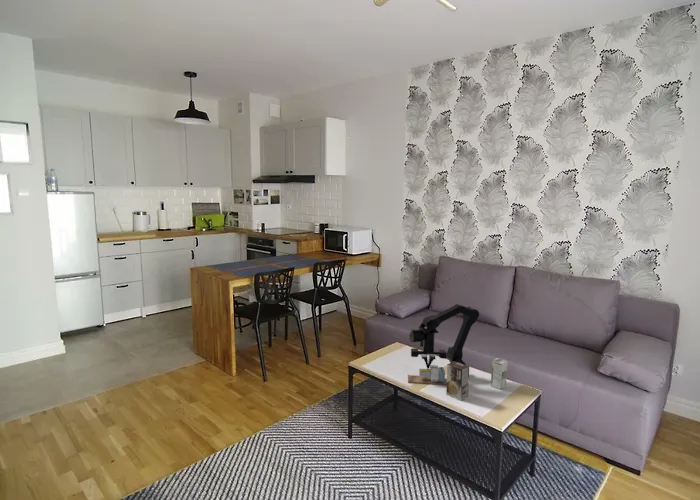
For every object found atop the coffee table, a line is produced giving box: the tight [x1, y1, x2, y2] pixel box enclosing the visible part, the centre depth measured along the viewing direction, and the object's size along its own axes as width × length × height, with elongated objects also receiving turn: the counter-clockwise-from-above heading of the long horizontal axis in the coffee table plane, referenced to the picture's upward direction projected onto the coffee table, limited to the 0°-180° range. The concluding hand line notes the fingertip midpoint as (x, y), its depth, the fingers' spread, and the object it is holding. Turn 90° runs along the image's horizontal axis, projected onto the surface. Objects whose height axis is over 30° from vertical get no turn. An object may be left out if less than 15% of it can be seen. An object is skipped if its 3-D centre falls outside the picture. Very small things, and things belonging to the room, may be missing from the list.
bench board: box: [407, 374, 447, 386], centre depth 226 cm, size 20×8×1 cm, turn 84°
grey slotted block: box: [429, 364, 439, 382], centre depth 225 cm, size 4×7×7 cm, turn 174°
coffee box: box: [445, 361, 470, 401], centre depth 209 cm, size 9×6×16 cm
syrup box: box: [490, 357, 509, 390], centre depth 219 cm, size 6×6×14 cm
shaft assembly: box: [418, 366, 446, 383], centre depth 225 cm, size 13×5×6 cm, turn 84°
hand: (427, 368), depth 228 cm, fingers closed
